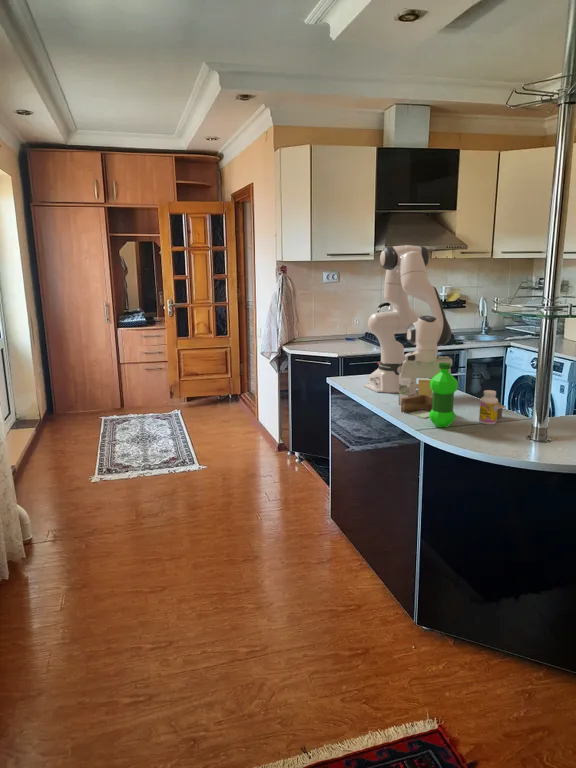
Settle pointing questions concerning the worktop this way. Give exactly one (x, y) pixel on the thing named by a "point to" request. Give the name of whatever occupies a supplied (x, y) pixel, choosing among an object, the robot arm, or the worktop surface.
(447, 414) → the plastic bottle
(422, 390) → the block
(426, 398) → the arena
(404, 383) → the syrup box
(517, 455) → the worktop surface
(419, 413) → the pad
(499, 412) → the platform
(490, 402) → the supplement bottle
